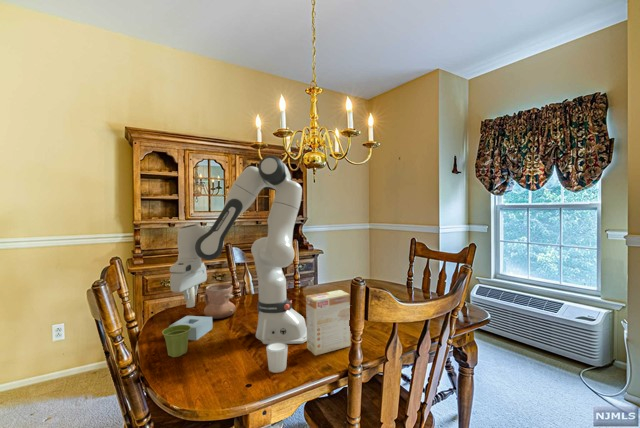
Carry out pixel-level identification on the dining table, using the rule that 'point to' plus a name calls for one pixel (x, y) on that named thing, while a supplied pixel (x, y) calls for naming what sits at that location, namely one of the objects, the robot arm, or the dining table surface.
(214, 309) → the ceramic jug
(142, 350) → the dining table surface
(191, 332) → the socket block
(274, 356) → the shot glass
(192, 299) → the dowel
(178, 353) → the plant pot
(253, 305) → the dining table surface
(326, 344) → the coffeecake box
